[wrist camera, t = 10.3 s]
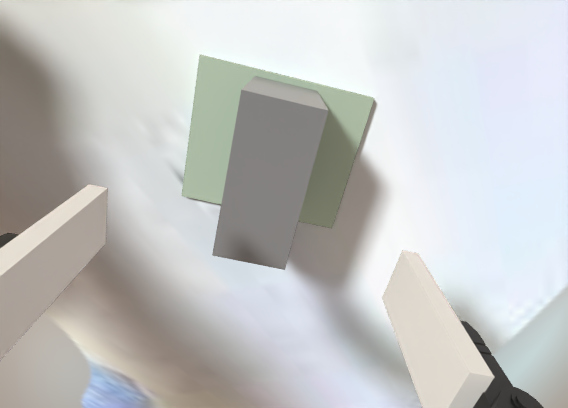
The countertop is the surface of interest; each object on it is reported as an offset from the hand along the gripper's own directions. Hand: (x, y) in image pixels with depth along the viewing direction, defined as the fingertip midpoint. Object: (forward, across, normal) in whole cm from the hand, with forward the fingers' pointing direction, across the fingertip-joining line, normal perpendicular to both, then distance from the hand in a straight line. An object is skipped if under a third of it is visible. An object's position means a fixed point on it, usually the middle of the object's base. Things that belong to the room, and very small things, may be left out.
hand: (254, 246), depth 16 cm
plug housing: (+16, 0, 0) cm, 16 cm away
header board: (+16, 0, 0) cm, 17 cm away
